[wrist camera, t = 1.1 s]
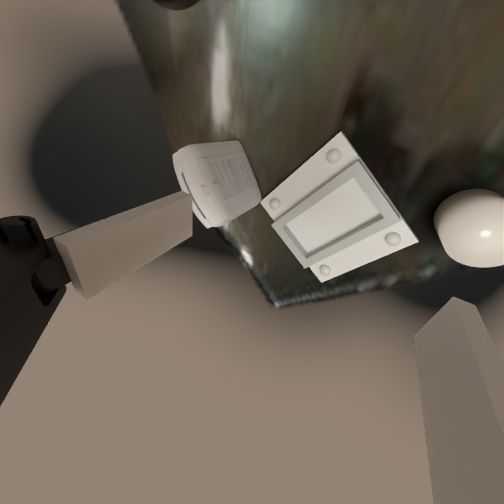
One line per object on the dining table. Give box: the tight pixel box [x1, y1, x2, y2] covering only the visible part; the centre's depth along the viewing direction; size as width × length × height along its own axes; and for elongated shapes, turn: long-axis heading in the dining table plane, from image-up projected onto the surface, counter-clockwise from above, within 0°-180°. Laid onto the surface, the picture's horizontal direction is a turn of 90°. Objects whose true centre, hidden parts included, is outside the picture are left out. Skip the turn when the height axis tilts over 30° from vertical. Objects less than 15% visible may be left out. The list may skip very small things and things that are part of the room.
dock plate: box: [260, 131, 419, 283], centre depth 31 cm, size 16×14×2 cm
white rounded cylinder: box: [433, 189, 504, 267], centre depth 22 cm, size 6×6×6 cm
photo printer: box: [173, 140, 262, 228], centre depth 30 cm, size 10×4×12 cm, turn 26°
